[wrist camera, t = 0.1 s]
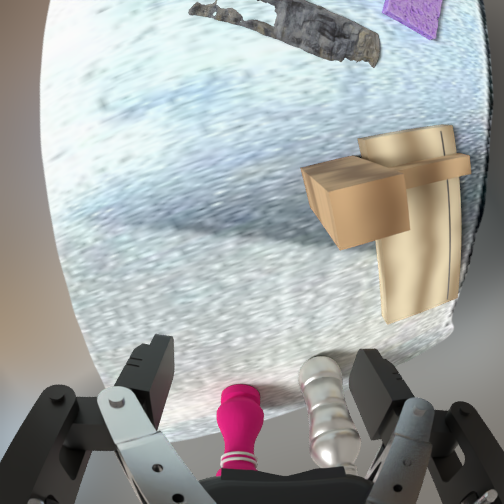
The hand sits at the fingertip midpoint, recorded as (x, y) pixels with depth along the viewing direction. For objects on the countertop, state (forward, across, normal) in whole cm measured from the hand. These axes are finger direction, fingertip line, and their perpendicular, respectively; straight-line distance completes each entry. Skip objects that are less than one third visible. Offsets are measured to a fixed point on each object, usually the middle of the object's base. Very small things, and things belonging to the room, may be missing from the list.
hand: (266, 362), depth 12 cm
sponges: (+19, -16, -34) cm, 42 cm away
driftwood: (+20, -1, -25) cm, 32 cm away
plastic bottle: (+26, -12, +19) cm, 34 cm away
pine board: (+22, -20, -4) cm, 30 cm away
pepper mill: (+27, -1, +27) cm, 38 cm away
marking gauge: (+21, -13, -10) cm, 27 cm away
